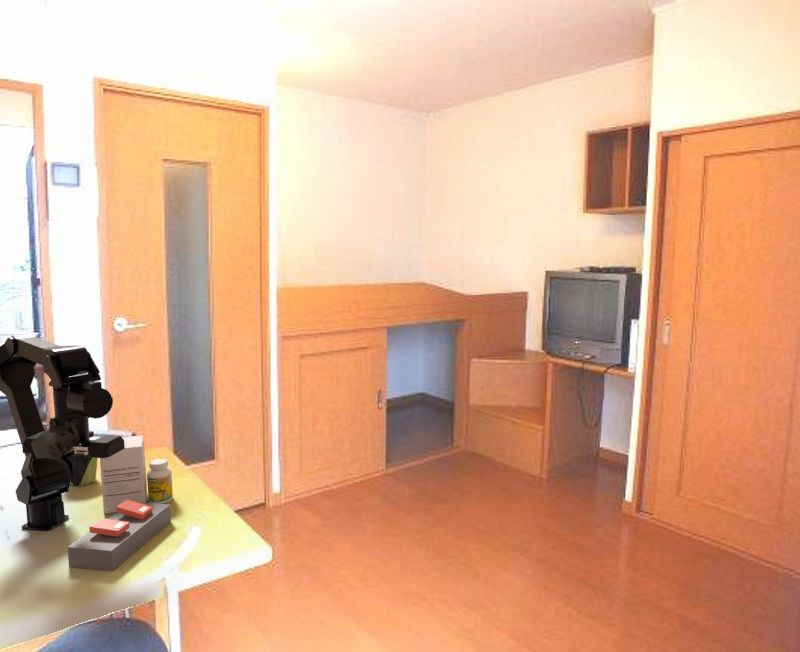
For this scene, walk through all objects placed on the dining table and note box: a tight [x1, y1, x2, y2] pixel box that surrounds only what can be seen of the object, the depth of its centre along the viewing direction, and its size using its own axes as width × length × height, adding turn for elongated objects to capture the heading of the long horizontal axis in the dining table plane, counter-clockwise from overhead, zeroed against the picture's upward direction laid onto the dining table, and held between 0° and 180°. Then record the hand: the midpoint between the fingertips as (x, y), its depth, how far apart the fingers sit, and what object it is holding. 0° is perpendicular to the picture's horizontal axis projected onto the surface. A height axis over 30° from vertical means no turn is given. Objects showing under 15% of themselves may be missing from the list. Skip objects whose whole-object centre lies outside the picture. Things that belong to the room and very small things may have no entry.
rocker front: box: [89, 517, 129, 537], centre depth 113 cm, size 6×4×1 cm, turn 81°
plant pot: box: [70, 444, 99, 487], centre depth 148 cm, size 9×9×9 cm
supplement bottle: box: [146, 458, 174, 504], centre depth 138 cm, size 5×5×10 cm
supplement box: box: [99, 434, 148, 515], centre depth 135 cm, size 9×9×15 cm
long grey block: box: [67, 502, 172, 572], centre depth 120 cm, size 9×24×4 cm, turn 171°
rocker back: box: [115, 499, 153, 520], centre depth 121 cm, size 6×4×1 cm, turn 81°
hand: (76, 485), depth 117 cm, fingers closed
